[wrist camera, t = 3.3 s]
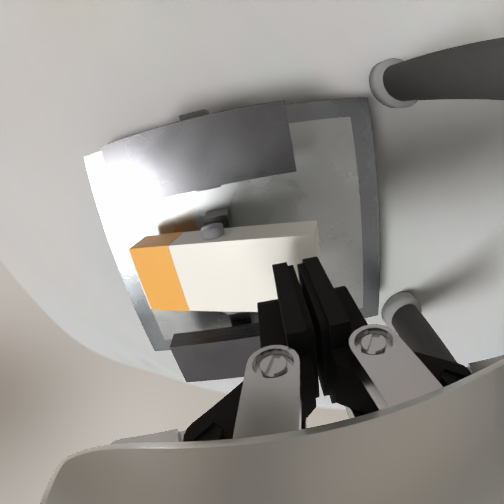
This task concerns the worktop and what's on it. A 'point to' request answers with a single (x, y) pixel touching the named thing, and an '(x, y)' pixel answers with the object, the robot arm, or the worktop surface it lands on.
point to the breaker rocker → (220, 265)
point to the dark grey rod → (413, 326)
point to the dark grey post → (442, 75)
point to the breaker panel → (243, 207)
